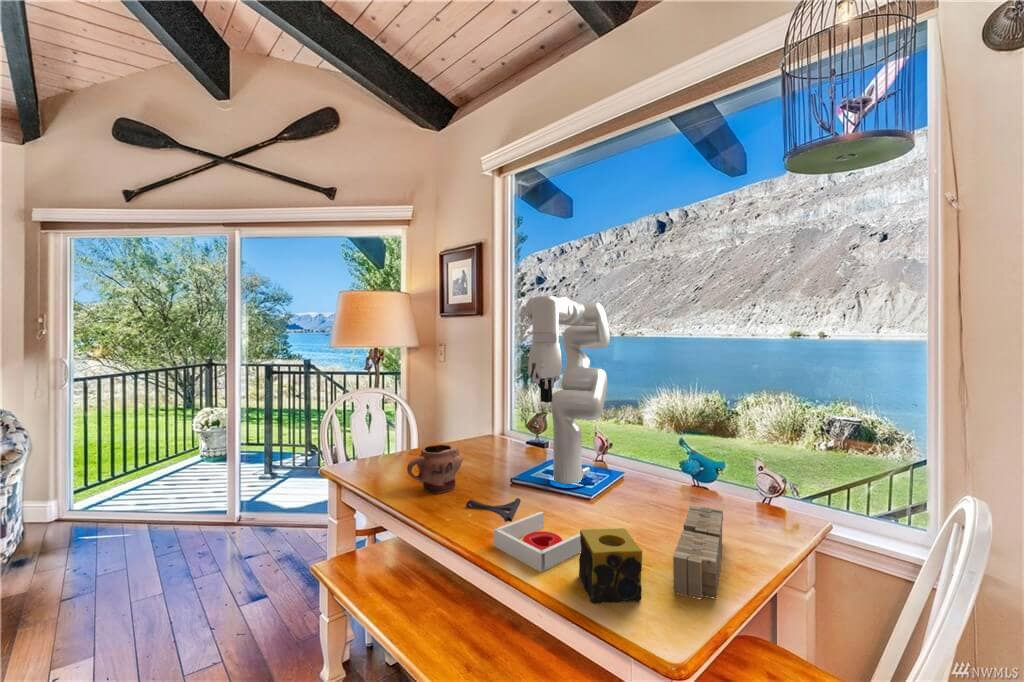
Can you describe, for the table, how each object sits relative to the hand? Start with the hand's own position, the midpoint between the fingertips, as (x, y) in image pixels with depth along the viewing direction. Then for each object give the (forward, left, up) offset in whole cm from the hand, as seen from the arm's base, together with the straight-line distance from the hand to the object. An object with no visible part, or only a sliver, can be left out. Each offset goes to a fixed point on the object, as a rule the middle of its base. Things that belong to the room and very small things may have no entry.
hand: (546, 401), depth 131 cm
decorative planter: (+17, -34, -31) cm, 49 cm away
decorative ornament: (+20, +18, -32) cm, 41 cm away
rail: (+19, +16, -31) cm, 40 cm away
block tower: (-2, +45, -32) cm, 55 cm away
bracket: (+13, -10, -32) cm, 36 cm away
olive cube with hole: (+21, +37, -31) cm, 53 cm away
